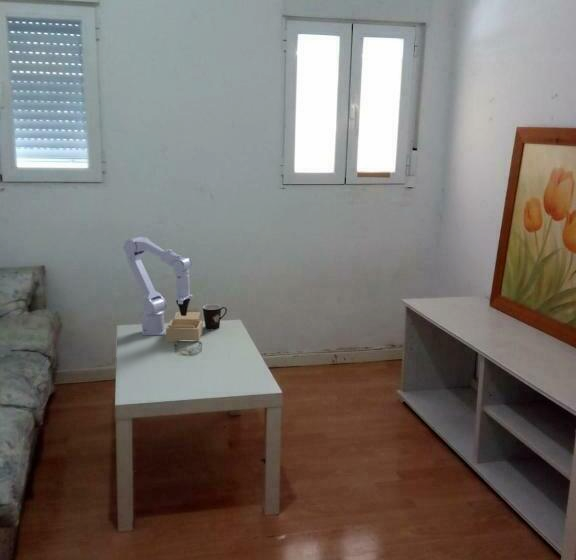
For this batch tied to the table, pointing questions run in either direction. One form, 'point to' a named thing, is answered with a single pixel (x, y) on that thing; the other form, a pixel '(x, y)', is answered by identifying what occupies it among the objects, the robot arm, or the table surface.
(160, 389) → the table surface
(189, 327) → the flap near
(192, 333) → the carton
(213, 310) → the coffee mug
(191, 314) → the flap far
